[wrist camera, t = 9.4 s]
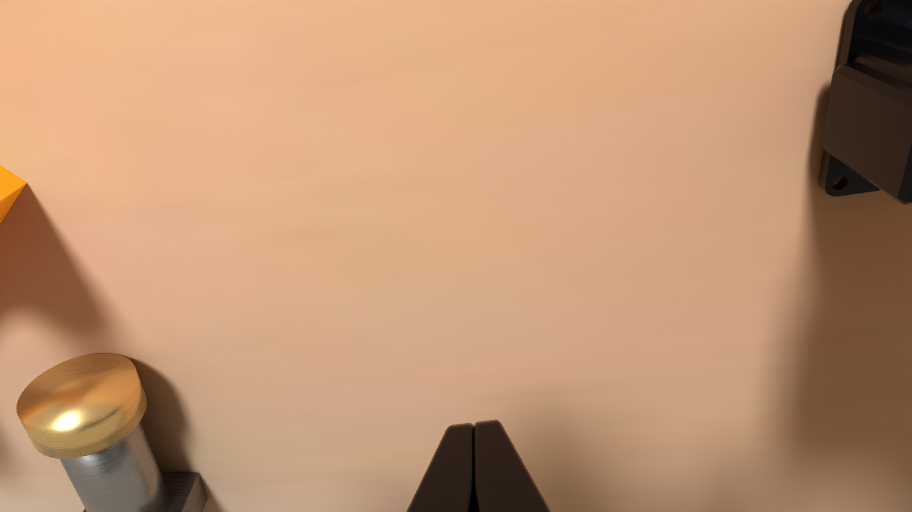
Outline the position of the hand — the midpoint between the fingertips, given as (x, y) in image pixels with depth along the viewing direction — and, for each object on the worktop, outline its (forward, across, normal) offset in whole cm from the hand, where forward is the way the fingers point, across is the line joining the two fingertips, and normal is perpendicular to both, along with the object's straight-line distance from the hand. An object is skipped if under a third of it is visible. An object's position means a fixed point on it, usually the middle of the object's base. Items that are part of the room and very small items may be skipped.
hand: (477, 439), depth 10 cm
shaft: (+12, +17, +11) cm, 23 cm away
